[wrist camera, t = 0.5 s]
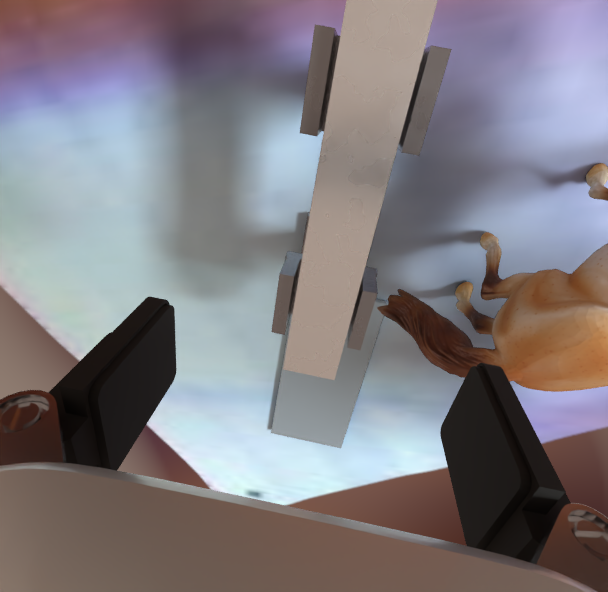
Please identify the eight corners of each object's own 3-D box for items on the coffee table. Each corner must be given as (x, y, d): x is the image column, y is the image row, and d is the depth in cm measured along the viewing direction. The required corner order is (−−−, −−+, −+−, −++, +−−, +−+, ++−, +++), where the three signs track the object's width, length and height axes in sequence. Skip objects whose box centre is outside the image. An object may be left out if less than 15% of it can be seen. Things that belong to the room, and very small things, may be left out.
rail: (429, -7, 19) (444, -27, 16) (337, 348, 32) (334, 380, 28) (354, -20, 20) (353, -43, 16) (291, 338, 32) (283, 369, 28)
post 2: (374, 225, 36) (380, 287, 25) (359, 278, 39) (360, 355, 28) (304, 211, 36) (279, 266, 25) (295, 265, 39) (269, 336, 28)
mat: (387, 301, 40) (387, 304, 39) (341, 444, 52) (340, 448, 52) (296, 282, 40) (296, 285, 40) (271, 429, 52) (270, 432, 52)
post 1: (419, 56, 29) (457, 37, 18) (397, 138, 32) (418, 165, 21) (331, 40, 29) (314, 11, 18) (318, 123, 32) (296, 142, 21)
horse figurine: (736, 54, 27) (1498, -13, 9) (763, 144, 29) (1403, 235, 11) (373, 279, 39) (385, 440, 21) (413, 329, 41) (453, 511, 24)
